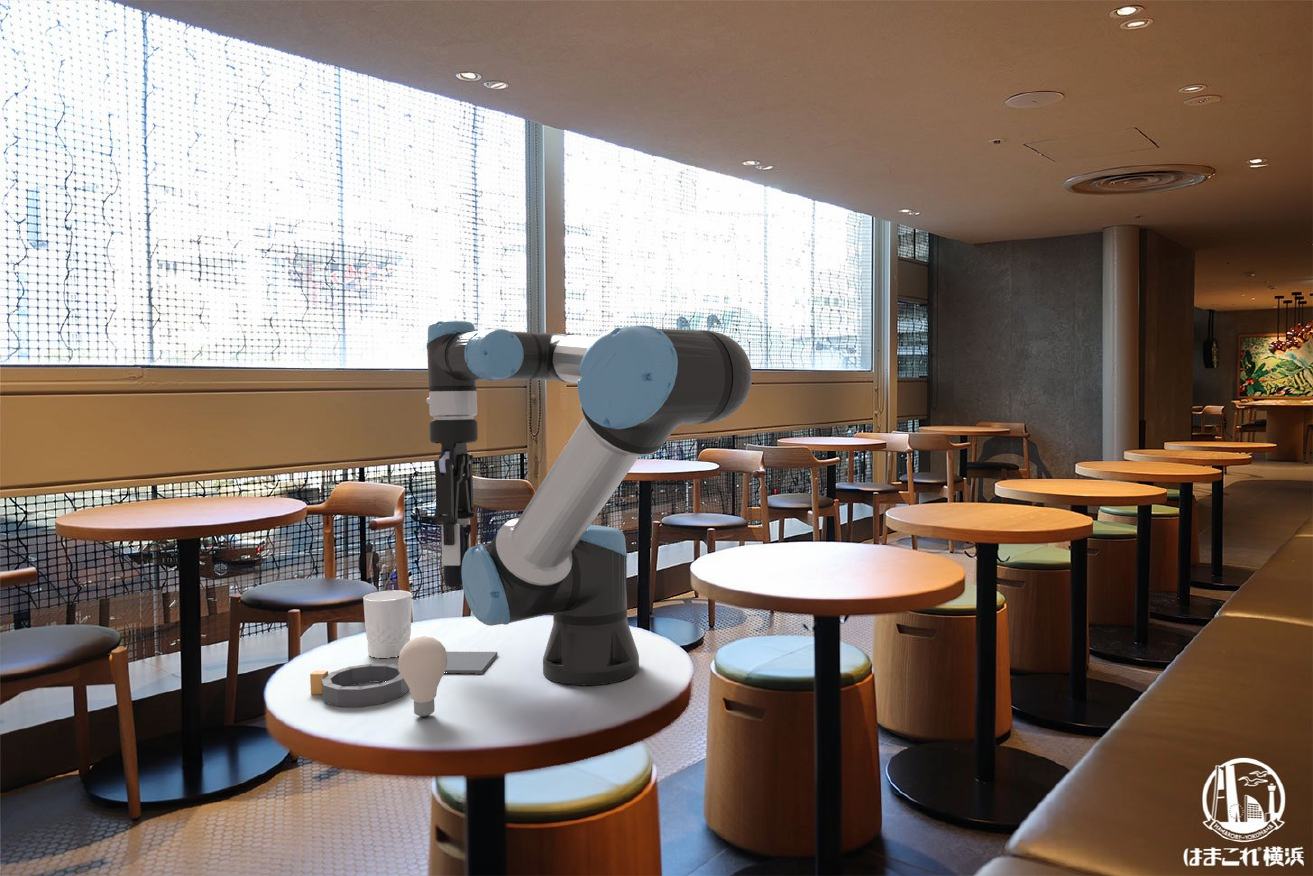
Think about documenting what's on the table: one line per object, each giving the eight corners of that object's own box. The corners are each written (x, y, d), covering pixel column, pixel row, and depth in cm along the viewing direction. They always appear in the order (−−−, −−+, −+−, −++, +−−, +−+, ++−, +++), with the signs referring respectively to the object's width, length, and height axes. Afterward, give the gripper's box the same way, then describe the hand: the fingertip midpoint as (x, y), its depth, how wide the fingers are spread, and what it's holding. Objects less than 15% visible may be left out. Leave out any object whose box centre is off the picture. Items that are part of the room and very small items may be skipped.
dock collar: (418, 680, 135) (418, 660, 135) (390, 707, 123) (390, 686, 123) (330, 679, 136) (330, 660, 135) (294, 706, 124) (293, 685, 124)
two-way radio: (442, 582, 144) (441, 491, 144) (469, 581, 145) (469, 490, 145) (444, 588, 139) (443, 494, 138) (473, 587, 140) (472, 493, 140)
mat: (497, 655, 147) (497, 651, 147) (482, 674, 137) (481, 670, 137) (439, 655, 148) (439, 651, 148) (419, 673, 138) (419, 669, 138)
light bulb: (405, 709, 122) (402, 631, 122) (452, 707, 122) (450, 629, 122) (394, 726, 115) (391, 644, 115) (444, 724, 116) (442, 642, 115)
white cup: (420, 647, 153) (418, 590, 152) (402, 660, 145) (400, 601, 145) (376, 646, 154) (375, 590, 153) (356, 659, 146) (355, 600, 145)
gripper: (447, 417, 150) (450, 551, 151) (411, 420, 132) (415, 572, 133) (490, 416, 150) (493, 551, 151) (460, 419, 131) (463, 572, 132)
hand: (456, 561), depth 142 cm, fingers closed on two-way radio, 5 cm apart
